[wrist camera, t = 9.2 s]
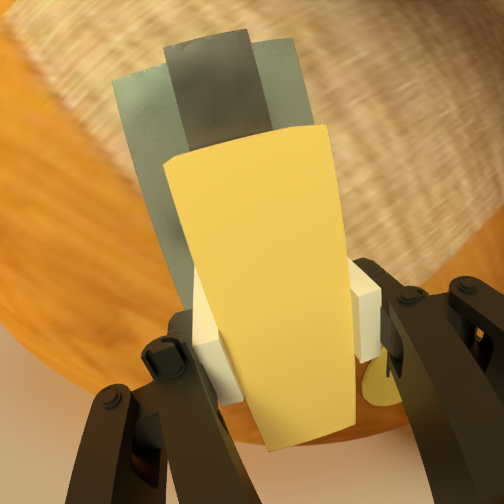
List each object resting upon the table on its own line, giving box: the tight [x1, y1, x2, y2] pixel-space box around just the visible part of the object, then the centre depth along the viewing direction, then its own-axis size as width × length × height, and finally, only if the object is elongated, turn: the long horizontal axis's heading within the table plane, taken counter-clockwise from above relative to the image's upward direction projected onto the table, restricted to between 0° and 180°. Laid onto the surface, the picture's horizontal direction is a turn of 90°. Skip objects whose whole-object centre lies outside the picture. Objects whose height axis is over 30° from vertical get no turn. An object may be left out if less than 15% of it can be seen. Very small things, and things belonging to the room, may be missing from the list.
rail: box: [112, 29, 314, 398], centre depth 15 cm, size 21×9×5 cm, turn 14°
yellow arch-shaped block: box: [163, 125, 356, 452], centre depth 12 cm, size 12×4×6 cm, turn 14°
